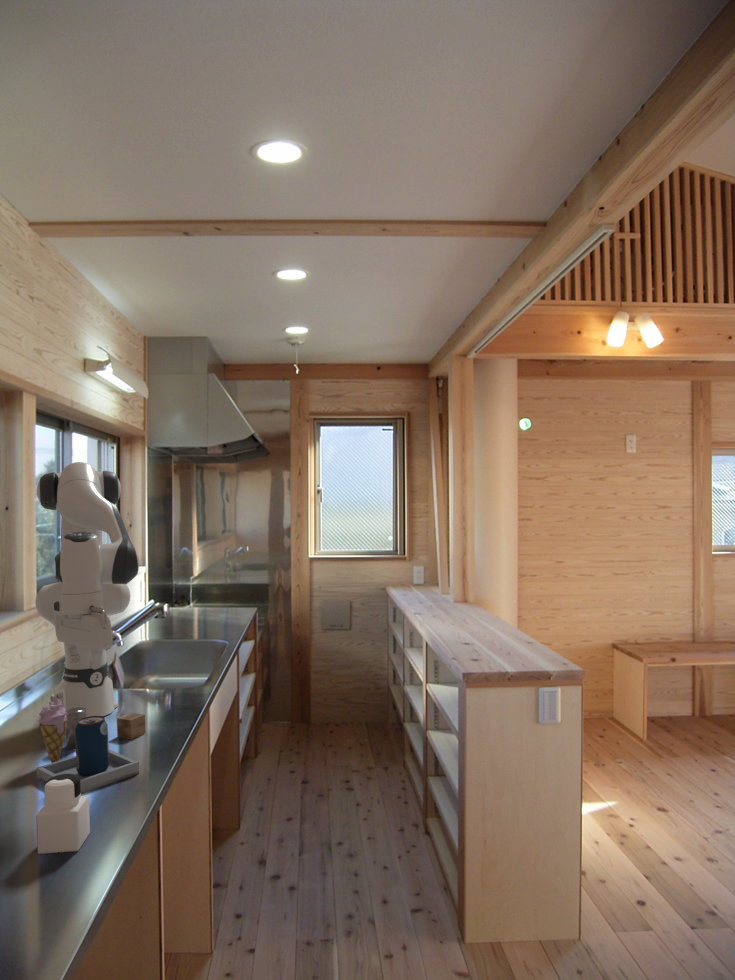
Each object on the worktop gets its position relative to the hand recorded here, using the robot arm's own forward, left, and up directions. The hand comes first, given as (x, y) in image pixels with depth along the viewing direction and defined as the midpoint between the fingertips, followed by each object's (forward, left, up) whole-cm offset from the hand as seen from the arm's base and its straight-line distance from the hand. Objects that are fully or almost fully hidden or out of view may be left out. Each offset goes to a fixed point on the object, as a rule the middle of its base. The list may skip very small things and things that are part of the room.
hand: (84, 665), depth 162 cm
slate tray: (0, 0, -25) cm, 25 cm away
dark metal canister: (-22, +8, -25) cm, 34 cm away
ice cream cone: (-14, -1, -25) cm, 29 cm away
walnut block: (-18, +21, -25) cm, 37 cm away
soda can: (+1, +1, -25) cm, 25 cm away
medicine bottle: (+27, -18, -25) cm, 41 cm away
